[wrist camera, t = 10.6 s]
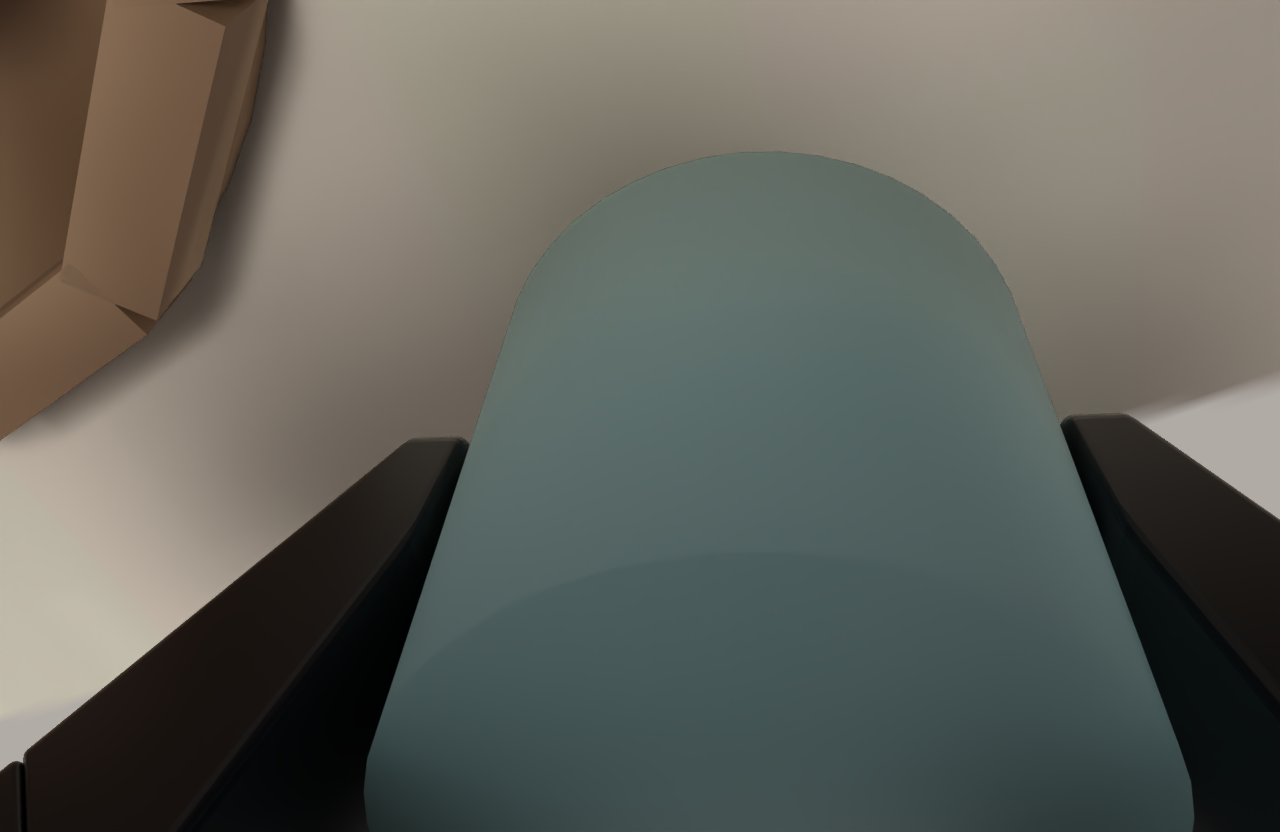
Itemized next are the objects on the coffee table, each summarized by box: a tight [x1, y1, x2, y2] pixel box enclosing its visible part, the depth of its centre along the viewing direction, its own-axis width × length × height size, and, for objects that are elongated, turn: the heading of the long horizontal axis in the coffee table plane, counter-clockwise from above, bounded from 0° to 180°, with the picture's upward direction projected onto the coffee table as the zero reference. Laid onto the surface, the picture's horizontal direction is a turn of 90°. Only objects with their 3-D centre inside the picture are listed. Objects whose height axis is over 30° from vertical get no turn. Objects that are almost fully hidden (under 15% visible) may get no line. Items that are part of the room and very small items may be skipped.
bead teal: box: [364, 152, 1194, 832], centre depth 7 cm, size 4×4×4 cm
